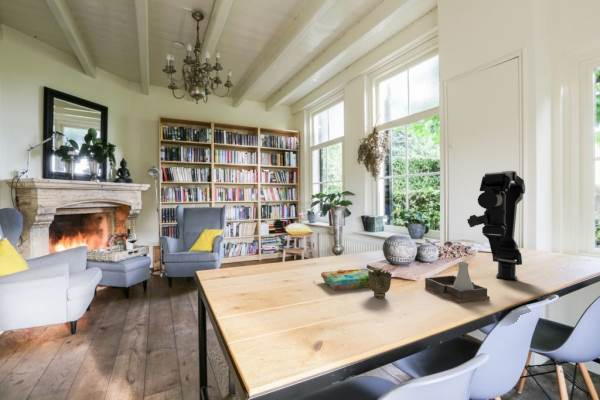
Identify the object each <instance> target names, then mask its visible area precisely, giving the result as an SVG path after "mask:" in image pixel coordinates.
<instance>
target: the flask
mask: <svg viewBox="0 0 600 400" xmlns="http://www.w3.org/2000/svg"><path fill="white" fill-rule="evenodd" d="M457 264H458V270H457V275H456V280H455V282H454V284H453V287H454V288H456V289H458V290H461V291H464V290H473V289H474V287H473V285H472V280H471V277H470V273H469V264H470V263H469V262H468V261H457Z"/></svg>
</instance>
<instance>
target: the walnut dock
mask: <svg viewBox="0 0 600 400" xmlns="http://www.w3.org/2000/svg"><path fill="white" fill-rule="evenodd" d="M456 277H457V275H453V274H451V275H444V276H443V275H442V276H432V277H431V276H430V277H425V278H424V283H425V284H424V285H425V286H424V288H425V289H427V290H429V291H431V292H433V293H436V294H438V295H440V296H441V297H444V298H446V299H448V300H451V301H453V302H455V303H457V304H464V303H472V302H480V301H481V302H482V301H489V300H490V298H491V297H490V296H489V295H488V288H487V287H484V286H482V285H479V284H475V283H474V282H472V281H471V282H472V285H473V287H474V289H473V290H464V291H461V290H458V289H456V288H454V287H453V284H454V282H455V280H456Z"/></svg>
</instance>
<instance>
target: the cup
mask: <svg viewBox="0 0 600 400" xmlns="http://www.w3.org/2000/svg"><path fill="white" fill-rule="evenodd" d="M372 271H373V272H372V273H371V271H369V272H368V276H369V284H370V287H369V288H370V290H371V291H372V292H373V296H374V297H375V298H377V299H384V298H385V297H386V293H388V292H389V291H390V287H391V284H392V283H391V281H392V275H393V273H392V272H390V271H387V270H386V271H385V270H381V269H377V270H376V269H373V270H372Z"/></svg>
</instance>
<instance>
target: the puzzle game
mask: <svg viewBox="0 0 600 400" xmlns="http://www.w3.org/2000/svg"><path fill="white" fill-rule="evenodd" d="M369 271H371V273H372V272H373V271H374V270H371V269H369V268H365V267H364V268H356V269H344V270H343V269H338V270H333V271H322V272H321V273H320V274H321V275H320V277H321V278H322V280H323V281H324V283H325V284H326V285H328V286H329V287H330V288H332V289H333V290H335V291H342V290H352V289H359V288H370V284H369V276H368V272H369Z"/></svg>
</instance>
